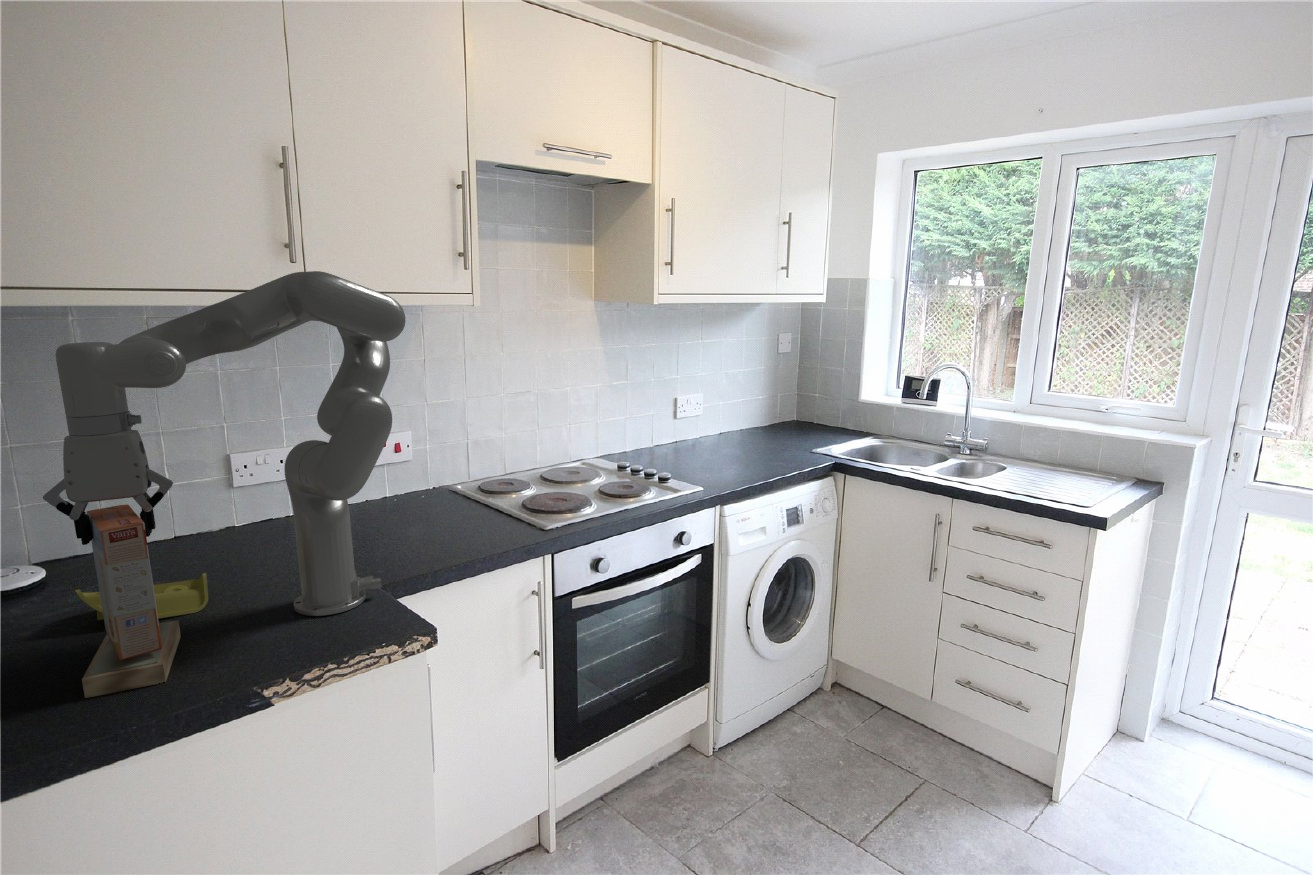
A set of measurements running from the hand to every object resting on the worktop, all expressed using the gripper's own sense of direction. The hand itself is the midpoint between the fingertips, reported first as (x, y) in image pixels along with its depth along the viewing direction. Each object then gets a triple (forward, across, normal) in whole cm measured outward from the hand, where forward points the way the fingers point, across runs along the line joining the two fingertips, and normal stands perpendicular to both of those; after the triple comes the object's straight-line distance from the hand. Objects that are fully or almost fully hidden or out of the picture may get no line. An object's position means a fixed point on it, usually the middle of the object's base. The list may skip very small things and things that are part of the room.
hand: (118, 537), depth 113 cm
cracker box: (+17, 0, 0) cm, 17 cm away
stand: (+21, 0, 0) cm, 21 cm away
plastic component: (+22, +2, -24) cm, 32 cm away
